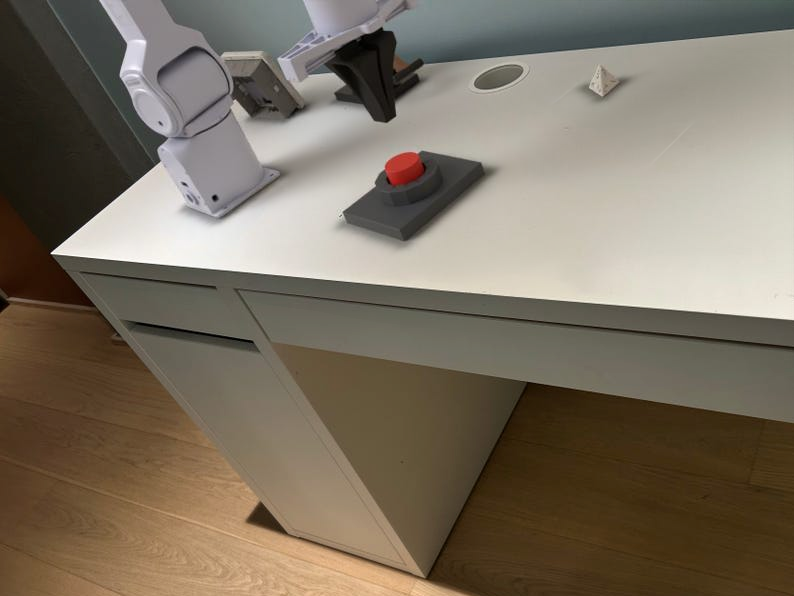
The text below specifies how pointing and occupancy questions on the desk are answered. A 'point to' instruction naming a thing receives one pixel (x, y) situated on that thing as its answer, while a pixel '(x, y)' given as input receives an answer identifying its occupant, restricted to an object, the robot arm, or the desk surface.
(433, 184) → the button box
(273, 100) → the electrical switch
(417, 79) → the bracket
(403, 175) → the button
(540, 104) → the desk surface
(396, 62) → the lever
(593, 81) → the tetrahedral die
